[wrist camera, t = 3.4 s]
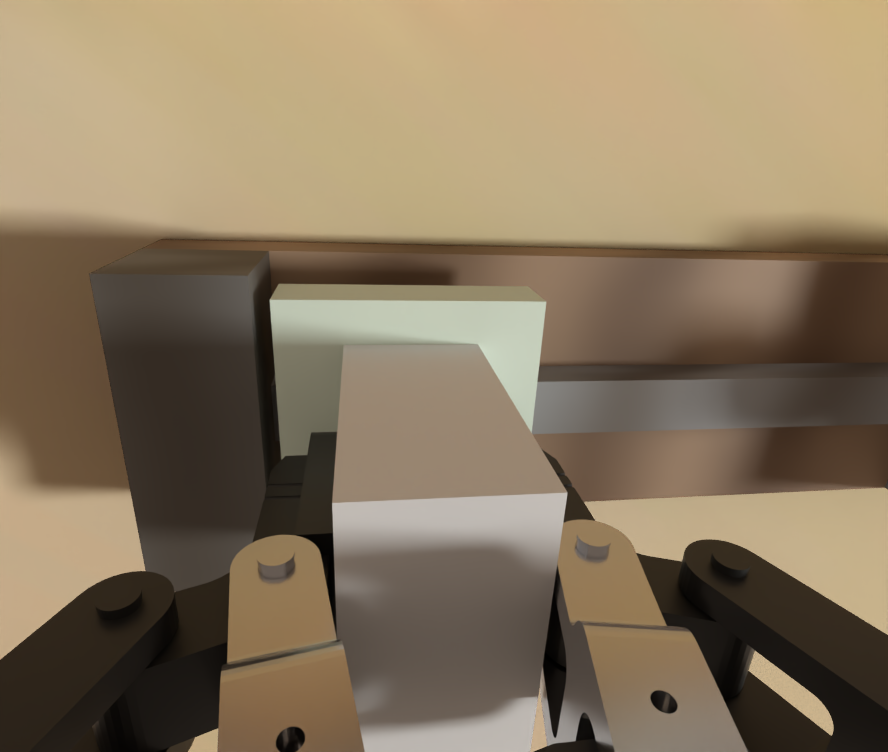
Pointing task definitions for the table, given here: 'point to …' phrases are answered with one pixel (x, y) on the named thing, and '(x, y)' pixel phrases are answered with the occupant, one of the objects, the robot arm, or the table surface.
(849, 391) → the rail
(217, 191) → the table surface
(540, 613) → the carriage
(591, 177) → the table surface
